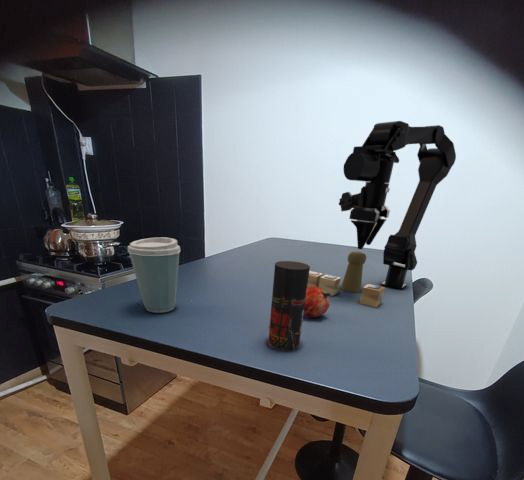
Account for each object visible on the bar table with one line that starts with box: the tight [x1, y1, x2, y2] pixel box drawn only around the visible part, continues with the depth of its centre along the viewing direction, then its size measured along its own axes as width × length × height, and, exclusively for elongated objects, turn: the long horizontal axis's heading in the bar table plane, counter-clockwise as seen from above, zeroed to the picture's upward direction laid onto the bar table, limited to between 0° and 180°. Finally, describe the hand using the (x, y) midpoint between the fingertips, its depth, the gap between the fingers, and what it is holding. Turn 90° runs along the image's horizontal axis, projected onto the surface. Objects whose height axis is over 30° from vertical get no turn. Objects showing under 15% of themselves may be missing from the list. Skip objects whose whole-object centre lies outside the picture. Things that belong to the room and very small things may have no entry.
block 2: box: [318, 274, 342, 297], centre depth 91 cm, size 4×4×5 cm
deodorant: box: [267, 260, 311, 352], centre depth 57 cm, size 6×6×15 cm
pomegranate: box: [303, 286, 333, 319], centre depth 73 cm, size 7×7×10 cm
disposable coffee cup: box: [127, 236, 182, 314], centre depth 69 cm, size 11×11×15 cm
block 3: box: [359, 283, 386, 308], centre depth 85 cm, size 4×4×5 cm
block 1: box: [307, 270, 324, 287], centre depth 93 cm, size 4×4×5 cm
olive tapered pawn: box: [340, 251, 367, 293], centre depth 94 cm, size 6×6×11 cm
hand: (364, 246), depth 87 cm, fingers open, 9 cm apart
